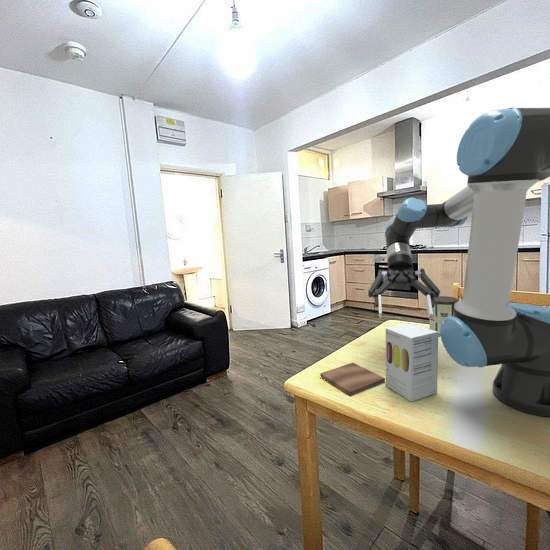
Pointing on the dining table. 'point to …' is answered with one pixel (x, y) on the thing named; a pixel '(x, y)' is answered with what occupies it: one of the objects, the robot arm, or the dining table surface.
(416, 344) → the supplement box
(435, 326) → the coffee can
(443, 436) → the dining table surface
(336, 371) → the walnut board
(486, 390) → the dining table surface
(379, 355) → the dining table surface
